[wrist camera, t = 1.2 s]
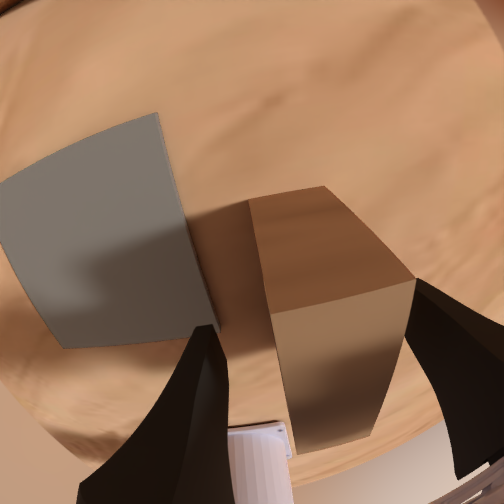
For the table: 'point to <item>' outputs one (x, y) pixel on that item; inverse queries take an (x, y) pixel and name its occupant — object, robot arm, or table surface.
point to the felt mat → (106, 241)
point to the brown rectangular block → (330, 313)
